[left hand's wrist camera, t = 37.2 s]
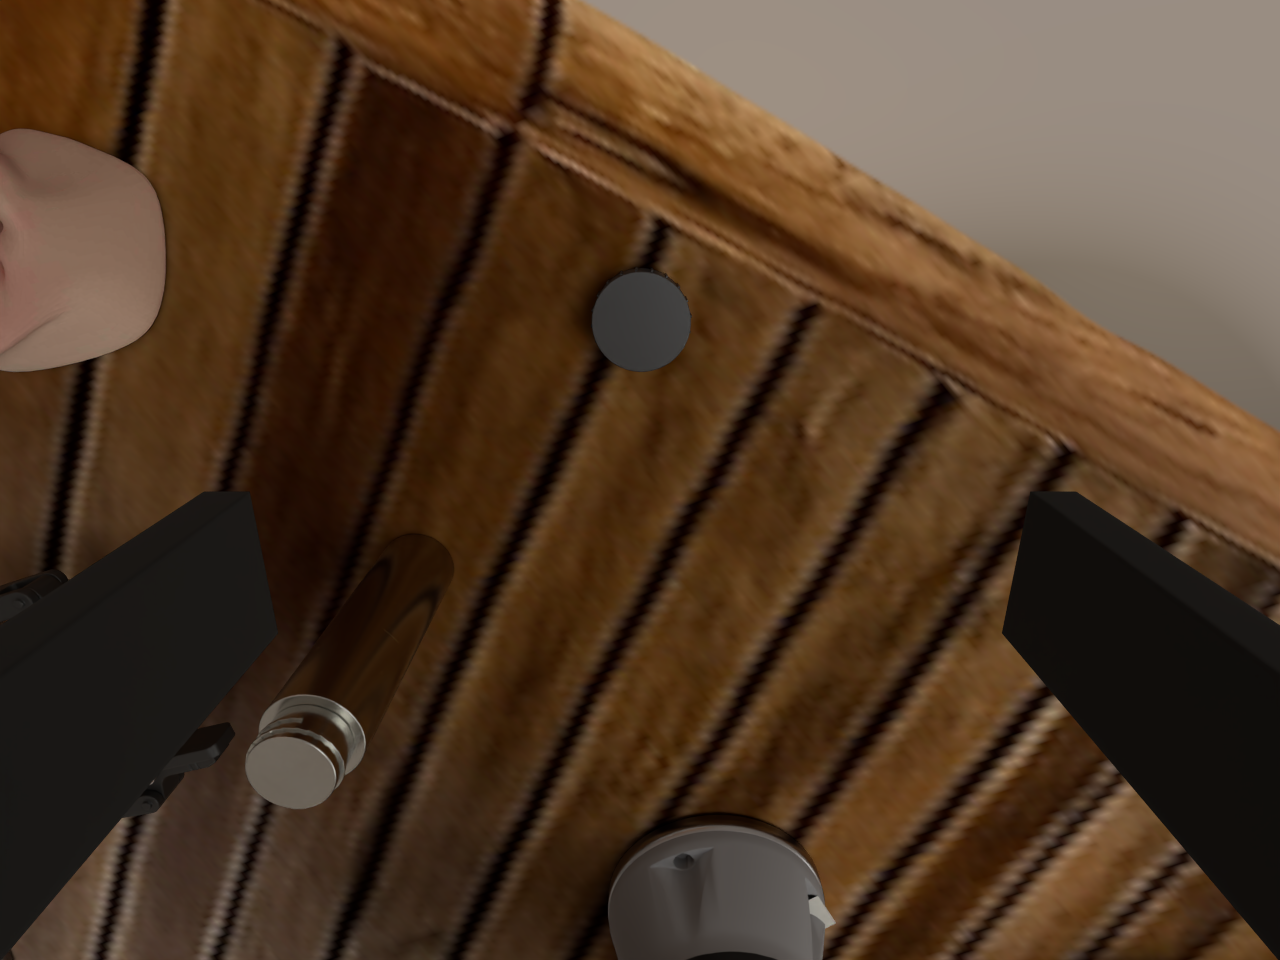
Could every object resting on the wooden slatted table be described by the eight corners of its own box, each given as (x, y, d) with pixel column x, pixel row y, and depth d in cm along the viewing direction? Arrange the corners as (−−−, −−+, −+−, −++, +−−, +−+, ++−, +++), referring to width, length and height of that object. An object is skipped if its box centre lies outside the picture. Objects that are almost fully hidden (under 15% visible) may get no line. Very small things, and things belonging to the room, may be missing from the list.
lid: (647, 382, 40) (648, 392, 38) (573, 323, 39) (570, 330, 37) (708, 309, 38) (712, 315, 36) (634, 245, 37) (633, 248, 35)
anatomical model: (77, 109, 31) (159, 373, 35) (137, 119, 35) (205, 357, 39) (-223, 134, 32) (-108, 393, 36) (-132, 142, 35) (-37, 375, 39)
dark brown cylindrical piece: (379, 532, 43) (224, 726, 27) (451, 534, 43) (340, 729, 27) (385, 597, 44) (242, 816, 28) (456, 598, 44) (353, 819, 28)
